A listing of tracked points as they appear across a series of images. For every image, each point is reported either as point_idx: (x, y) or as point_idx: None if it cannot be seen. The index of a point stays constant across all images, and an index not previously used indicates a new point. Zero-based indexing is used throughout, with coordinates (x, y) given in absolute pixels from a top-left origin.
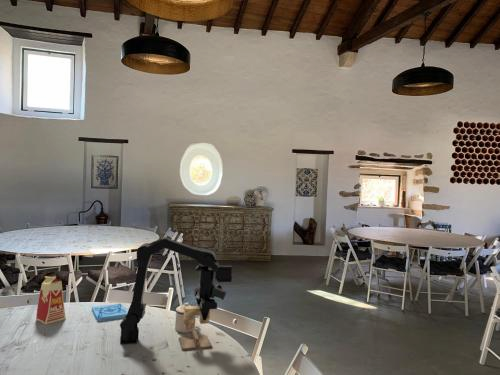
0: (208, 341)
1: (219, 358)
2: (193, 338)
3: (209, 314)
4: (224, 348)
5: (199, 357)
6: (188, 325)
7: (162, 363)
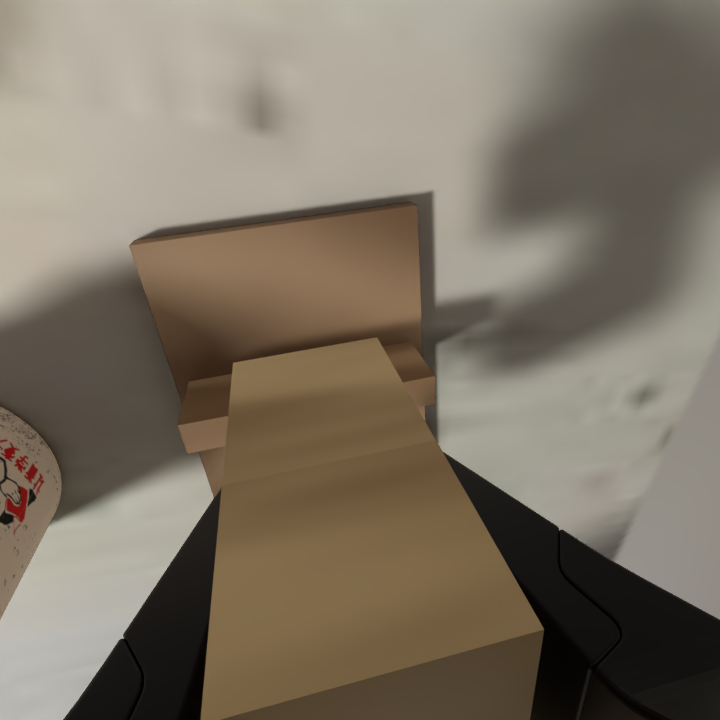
0: (301, 238)
1: (625, 146)
2: None
3: (441, 450)
4: (437, 42)
5: (557, 325)
6: (10, 493)
7: (564, 528)
